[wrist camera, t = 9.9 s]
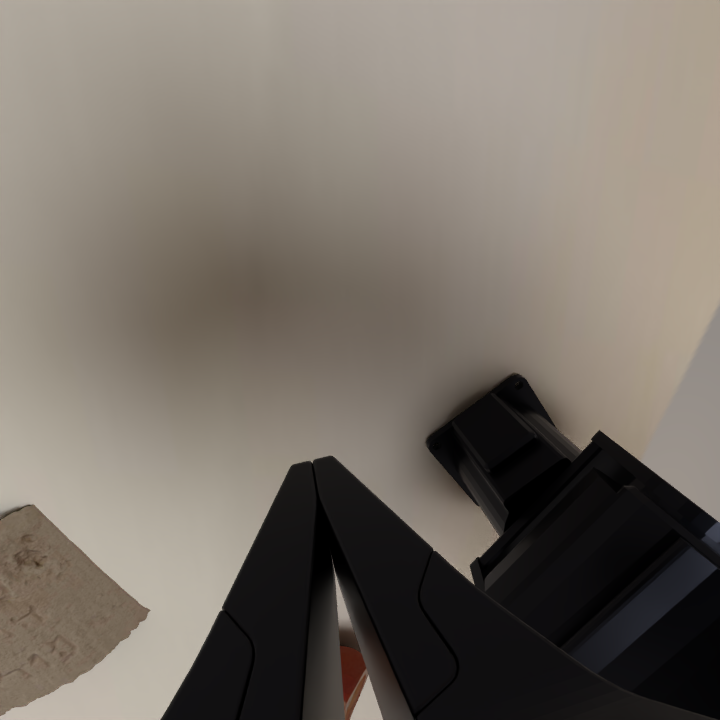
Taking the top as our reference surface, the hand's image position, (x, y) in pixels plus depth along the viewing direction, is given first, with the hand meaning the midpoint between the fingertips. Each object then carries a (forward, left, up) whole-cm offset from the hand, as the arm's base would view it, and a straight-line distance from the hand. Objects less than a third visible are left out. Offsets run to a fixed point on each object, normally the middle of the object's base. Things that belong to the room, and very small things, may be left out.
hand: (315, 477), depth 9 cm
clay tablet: (-3, +23, -13) cm, 26 cm away
